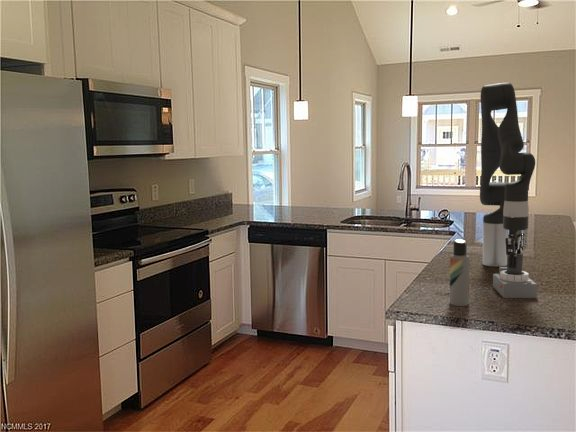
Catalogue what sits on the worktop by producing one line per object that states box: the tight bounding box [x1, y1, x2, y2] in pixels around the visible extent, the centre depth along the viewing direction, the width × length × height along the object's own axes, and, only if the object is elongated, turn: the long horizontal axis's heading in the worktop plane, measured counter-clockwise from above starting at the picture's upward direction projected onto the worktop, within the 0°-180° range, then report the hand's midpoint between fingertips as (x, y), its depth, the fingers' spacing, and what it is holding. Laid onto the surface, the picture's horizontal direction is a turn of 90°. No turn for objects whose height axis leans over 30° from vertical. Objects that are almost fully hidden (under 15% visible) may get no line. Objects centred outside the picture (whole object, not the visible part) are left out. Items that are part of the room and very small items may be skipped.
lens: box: [506, 253, 524, 275], centre depth 179 cm, size 5×5×8 cm
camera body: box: [492, 266, 538, 299], centre depth 180 cm, size 14×11×7 cm
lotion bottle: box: [449, 238, 471, 307], centre depth 168 cm, size 6×6×20 cm
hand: (514, 265), depth 179 cm, fingers closed on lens, 4 cm apart
